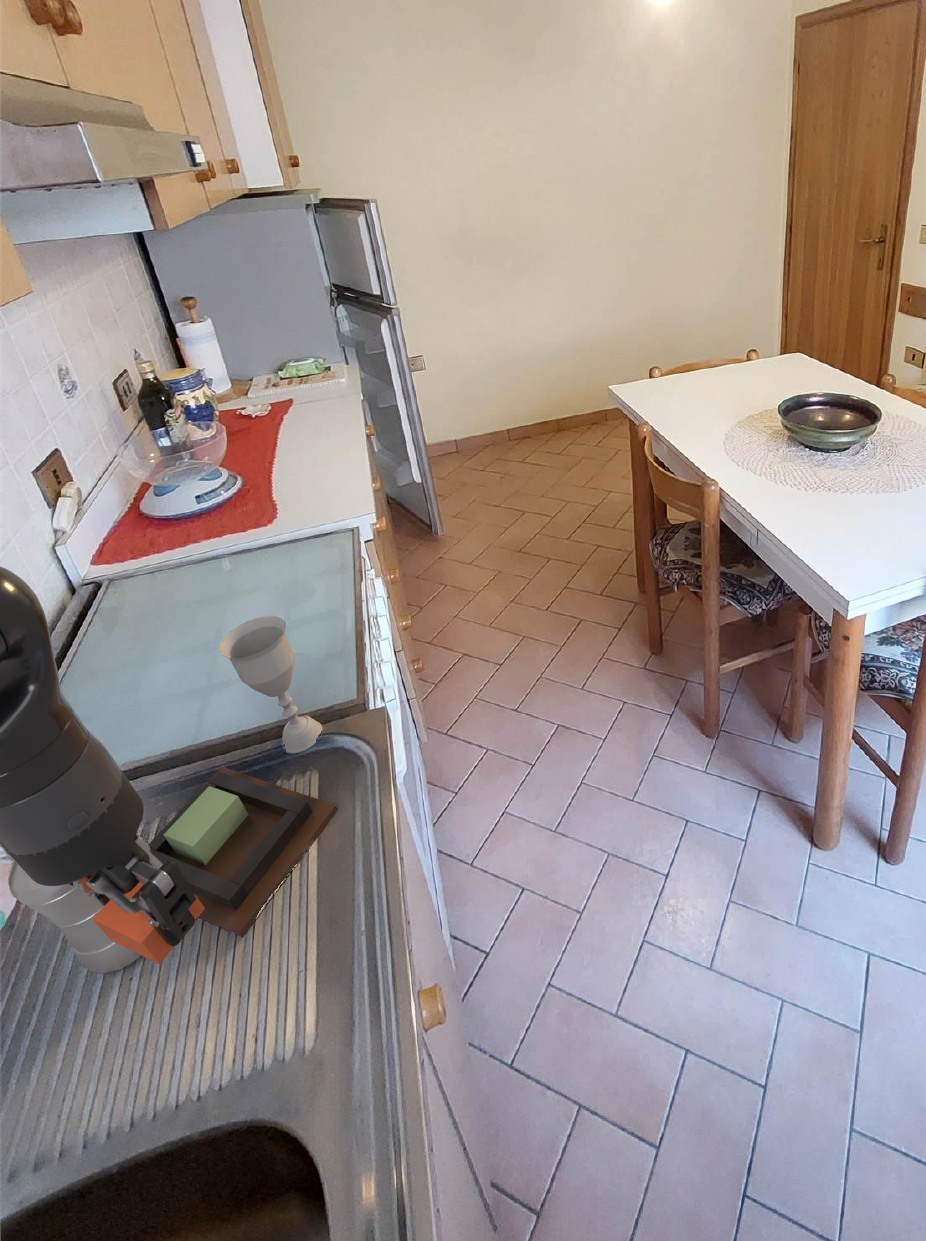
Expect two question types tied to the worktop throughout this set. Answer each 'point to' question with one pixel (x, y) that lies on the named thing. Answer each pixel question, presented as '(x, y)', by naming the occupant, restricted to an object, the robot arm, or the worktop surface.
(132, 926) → the terracotta pad
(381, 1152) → the worktop surface
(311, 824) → the back frame
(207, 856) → the sage pad
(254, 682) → the chalice
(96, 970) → the metal milk can
